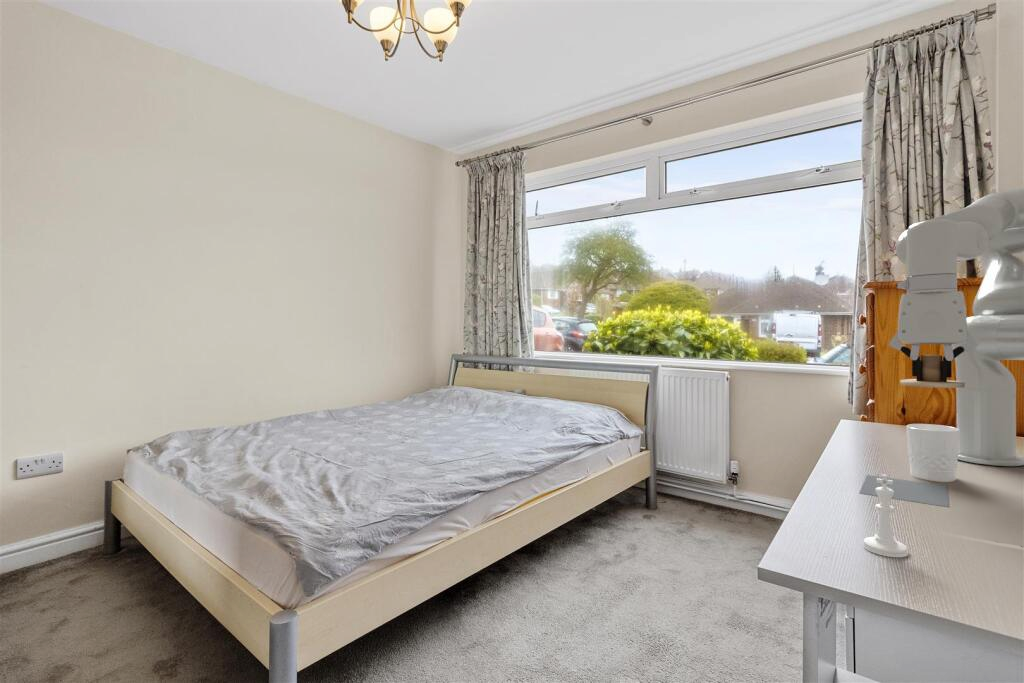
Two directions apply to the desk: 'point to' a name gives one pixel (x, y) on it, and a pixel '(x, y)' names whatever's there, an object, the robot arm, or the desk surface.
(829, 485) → the desk surface
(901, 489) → the mat
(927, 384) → the lid
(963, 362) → the robot arm
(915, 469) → the white cup
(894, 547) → the chess piece
